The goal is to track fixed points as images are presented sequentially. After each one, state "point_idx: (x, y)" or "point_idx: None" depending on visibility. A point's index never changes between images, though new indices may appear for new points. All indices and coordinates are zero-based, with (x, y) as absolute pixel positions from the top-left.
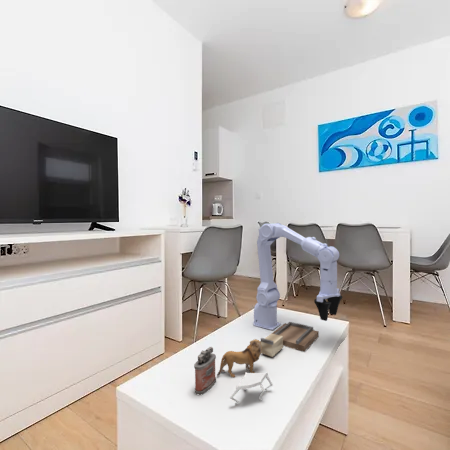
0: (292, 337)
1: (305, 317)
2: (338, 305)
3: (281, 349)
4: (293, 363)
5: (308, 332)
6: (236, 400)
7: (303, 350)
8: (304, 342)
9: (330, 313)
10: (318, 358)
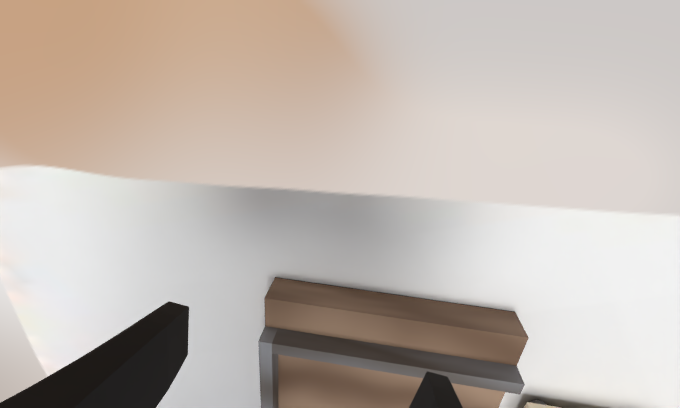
0: None
1: None
2: (15, 397)
3: (540, 401)
4: (676, 336)
5: (342, 348)
6: None
7: (515, 320)
8: (473, 342)
9: (184, 357)
10: (573, 239)
